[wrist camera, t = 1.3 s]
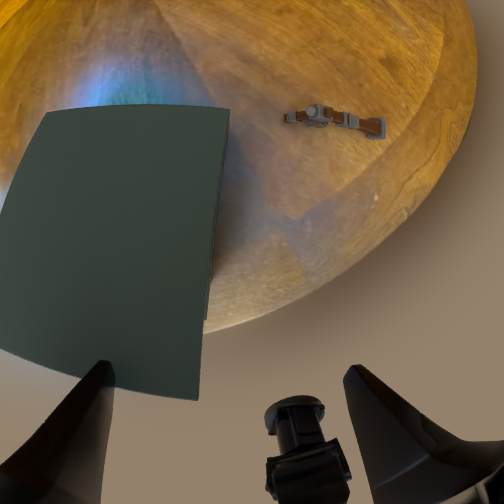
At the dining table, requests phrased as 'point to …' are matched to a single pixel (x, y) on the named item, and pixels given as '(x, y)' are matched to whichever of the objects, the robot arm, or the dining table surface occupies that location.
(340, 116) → the toy rocket launcher
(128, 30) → the dining table surface
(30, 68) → the dining table surface
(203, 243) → the lid
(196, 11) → the dining table surface
